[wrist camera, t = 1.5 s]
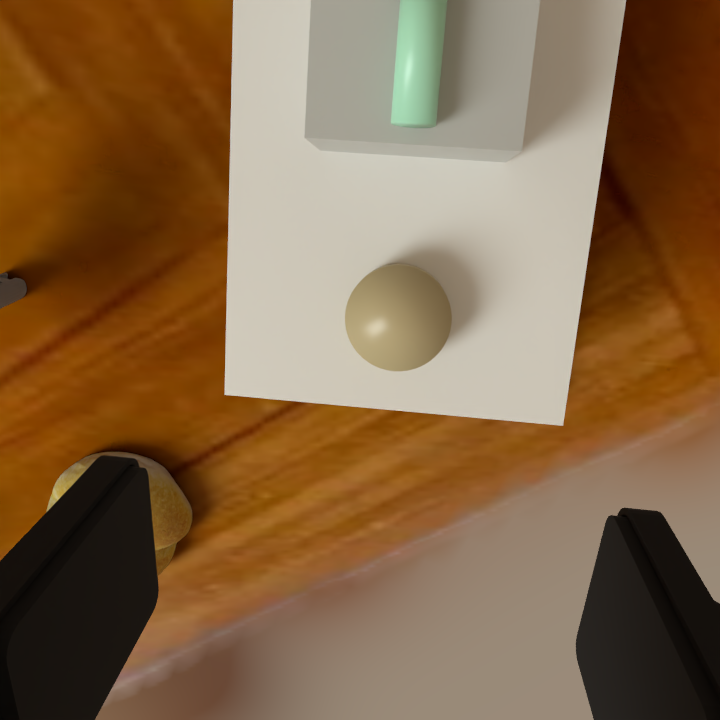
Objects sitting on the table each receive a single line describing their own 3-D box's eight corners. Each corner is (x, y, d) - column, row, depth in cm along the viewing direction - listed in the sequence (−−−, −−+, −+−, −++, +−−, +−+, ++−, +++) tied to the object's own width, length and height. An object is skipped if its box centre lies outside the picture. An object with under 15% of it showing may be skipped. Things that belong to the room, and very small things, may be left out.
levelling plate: (245, -136, 23) (186, -265, 17) (634, -123, 22) (718, -256, 16) (232, 387, 27) (181, 432, 21) (556, 416, 26) (598, 472, 20)
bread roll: (214, 485, 37) (192, 526, 34) (157, 580, 41) (131, 627, 37) (91, 418, 36) (53, 453, 33) (43, 521, 40) (4, 564, 36)
